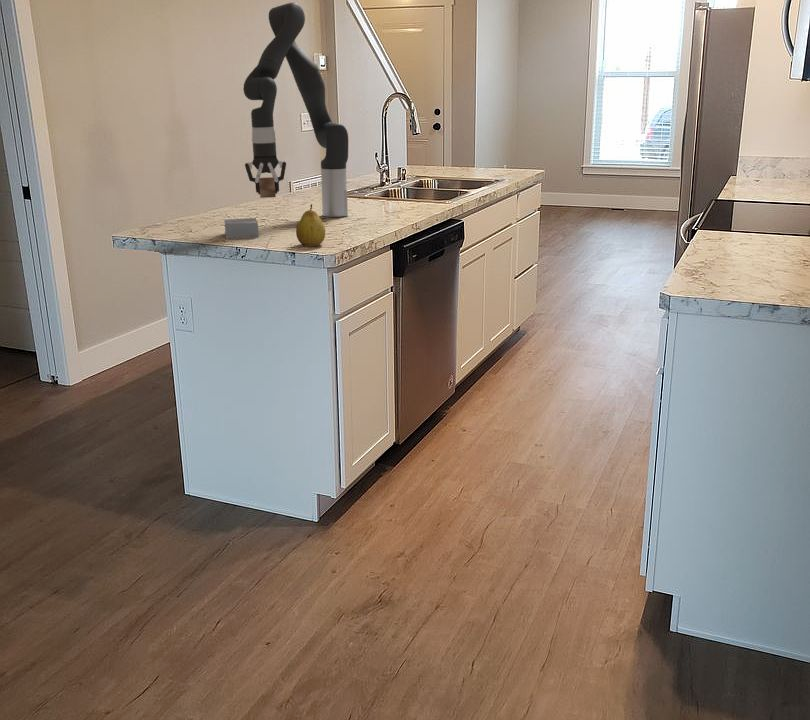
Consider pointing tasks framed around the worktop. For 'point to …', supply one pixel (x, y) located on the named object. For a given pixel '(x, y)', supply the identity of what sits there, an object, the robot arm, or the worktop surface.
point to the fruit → (310, 229)
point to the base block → (241, 228)
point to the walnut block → (267, 187)
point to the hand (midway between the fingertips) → (267, 193)
